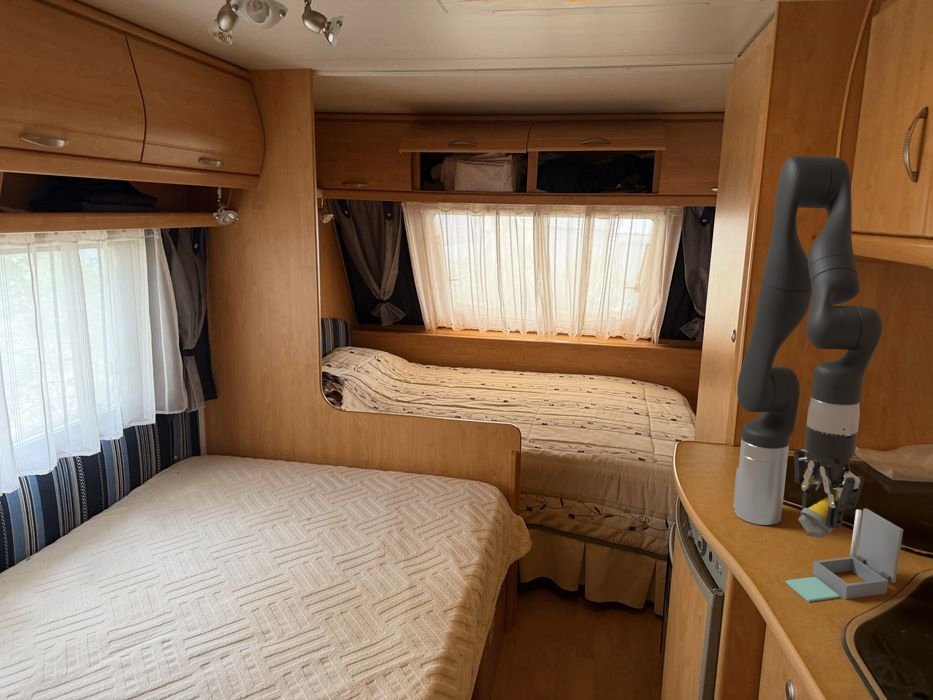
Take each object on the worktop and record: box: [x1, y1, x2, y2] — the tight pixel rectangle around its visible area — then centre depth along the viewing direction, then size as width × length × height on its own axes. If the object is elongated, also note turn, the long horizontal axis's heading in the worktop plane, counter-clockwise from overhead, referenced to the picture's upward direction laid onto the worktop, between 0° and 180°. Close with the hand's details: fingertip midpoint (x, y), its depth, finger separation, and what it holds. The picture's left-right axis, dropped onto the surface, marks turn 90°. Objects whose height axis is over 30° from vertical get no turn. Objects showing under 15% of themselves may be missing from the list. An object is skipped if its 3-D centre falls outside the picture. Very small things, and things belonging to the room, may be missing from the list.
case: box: [812, 507, 904, 600], centre depth 118 cm, size 10×10×12 cm
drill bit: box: [798, 493, 839, 539], centre depth 113 cm, size 5×5×10 cm
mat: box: [785, 576, 840, 603], centre depth 116 cm, size 6×6×1 cm
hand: (820, 518), depth 113 cm, fingers closed on drill bit, 5 cm apart
